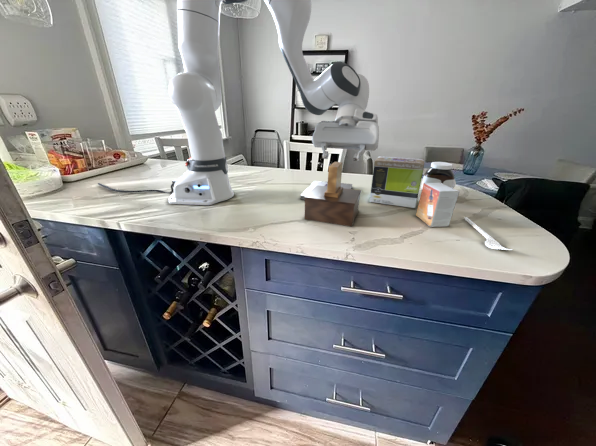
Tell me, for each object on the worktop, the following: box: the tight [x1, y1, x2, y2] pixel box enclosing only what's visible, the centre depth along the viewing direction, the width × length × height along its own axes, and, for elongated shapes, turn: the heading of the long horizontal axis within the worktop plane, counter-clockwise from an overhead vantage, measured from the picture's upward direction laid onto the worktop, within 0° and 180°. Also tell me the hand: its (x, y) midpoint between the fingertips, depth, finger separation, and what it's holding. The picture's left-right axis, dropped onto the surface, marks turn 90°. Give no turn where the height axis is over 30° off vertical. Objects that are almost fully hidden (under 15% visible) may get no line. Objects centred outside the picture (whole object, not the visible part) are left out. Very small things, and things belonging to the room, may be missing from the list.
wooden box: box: [304, 185, 362, 227], centre depth 74 cm, size 14×12×7 cm
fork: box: [463, 216, 514, 251], centre depth 63 cm, size 3×20×2 cm, turn 171°
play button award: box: [300, 180, 353, 201], centre depth 94 cm, size 16×2×20 cm
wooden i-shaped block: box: [324, 161, 344, 198], centre depth 70 cm, size 4×7×9 cm, turn 159°
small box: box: [415, 183, 460, 228], centre depth 69 cm, size 8×6×10 cm
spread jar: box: [420, 161, 457, 189], centre depth 92 cm, size 12×11×12 cm
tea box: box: [369, 155, 425, 209], centre depth 83 cm, size 15×10×15 cm, turn 65°
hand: (340, 158), depth 73 cm, fingers open, 8 cm apart
